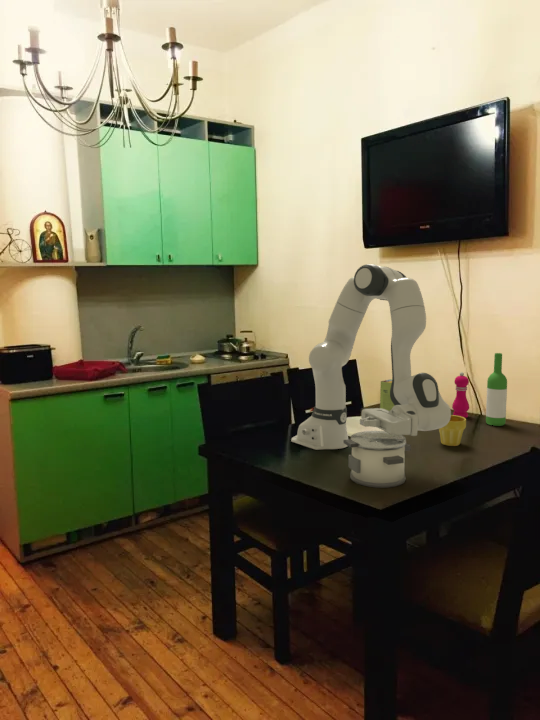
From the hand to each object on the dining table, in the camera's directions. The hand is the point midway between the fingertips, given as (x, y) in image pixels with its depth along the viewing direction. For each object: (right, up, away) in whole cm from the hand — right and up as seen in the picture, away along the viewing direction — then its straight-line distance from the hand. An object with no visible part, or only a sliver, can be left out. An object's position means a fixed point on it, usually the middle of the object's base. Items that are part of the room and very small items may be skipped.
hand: (361, 422), depth 174 cm
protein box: (+31, -6, +86) cm, 92 cm away
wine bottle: (+67, -8, +68) cm, 96 cm away
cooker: (+6, -18, +4) cm, 19 cm away
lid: (+4, -6, +2) cm, 8 cm away
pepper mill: (+57, -6, +82) cm, 100 cm away
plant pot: (+40, -12, +40) cm, 58 cm away
